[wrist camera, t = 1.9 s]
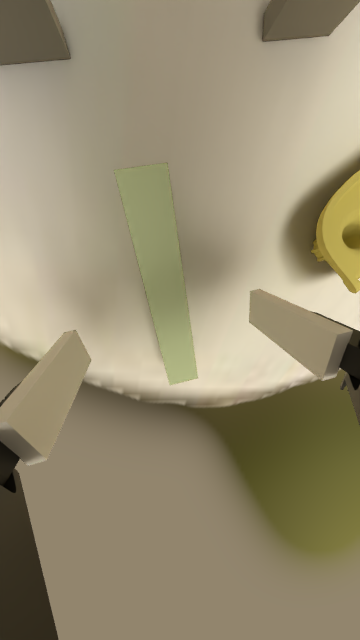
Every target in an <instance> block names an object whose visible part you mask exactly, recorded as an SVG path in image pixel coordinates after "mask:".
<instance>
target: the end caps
mask: <svg viewBox="0 0 360 640" xmlns="http://www.w3.org/2000/svg"><path fill="white" fill-rule="evenodd" d="M359 2H360V0H271V1H270V3H269V5H268V7H267V9H266V11H265V13H264V25H263V41H272V40H283V39H295V38H306V37H317V36H328V35H330V34H331V33H332V32H333V31H334V29H335V28H336V27H337V26H338V25H339V24H340V23H341V22H342V21H343V20H344V18H345V17H346V16H347V15H348V14H349V13H350V12H351V11H352V10H353V9H354V7H355V6H356V5H357V4H358V3H359ZM60 59H71V58H70V55H69V52H68V48H67V45H66V41H65V38H64V34H63V31H62V28H61V25H60V23H59V20H58V18H57V16H56V13H55V11H54V8H53V6H52V3H51V1H50V0H0V65H4V64H15V63H26V62H37V61H48V60H60Z"/></svg>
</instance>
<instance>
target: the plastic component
mask: <svg viewBox="0 0 360 640" xmlns="http://www.w3.org/2000/svg"><path fill="white" fill-rule="evenodd" d="M313 244H314V248H313V250H311V253H314V254H315V256H316V257H317V258H318V259H317V261H318V262H320V261H323V260H324V261H325V260H326V261H327V263H329V265H330V266H331V267H332V268H333V269H334V270H335V272H336V273H337V274H338V275H339V276H340V277H341V279H342V280H343V283H344V284H345V286H346V287H347V288H348V290H349V291H350V292H352V293H357V292H358V291H359V290H360V281H359V280H358V279H359V278H360V170H359V171H358V172H356V173H355V174H354V175H353V176H352V177H350V178H349V179H348V180H347V181H346V182H345V183H344V184H343V185H342V186H341V187H340V188H339V189H338V190H337V191H336V192H335V194H334V195H333V196H332V197H331V199H330V200H329V201H328V203H327V204H326V206H325V207H324V209H323V211H322V213H321V215H320V217H319V219H318V223H317V228H316V240H314V242H313Z"/></svg>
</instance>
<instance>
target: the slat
mask: <svg viewBox="0 0 360 640" xmlns="http://www.w3.org/2000/svg"><path fill="white" fill-rule="evenodd" d="M114 172H115V176H116V180H117V184H118V188H119V192H120V195H121V199H122V203H123V207H124V211H125V215H126V218H127V222H128V226H129V230H130V234H131V238H132V242H133V245H134V249H135V253H136V257H137V261H138V265H139V269H140V272H141V276H142V280H143V284H144V288H145V292H146V296H147V299H148V303H149V307H150V311H151V315H152V319H153V322H154V326H155V330H156V334H157V338H158V342H159V346H160V349H161V353H162V357H163V361H164V365H165V369H166V373H167V376H168V380H169V384H170V385H173V384H177V383H181V382H185V381H189V380H193V379H197V378H198V375H197V368H196V361H195V354H194V347H193V339H192V332H191V325H190V318H189V311H188V304H187V297H186V290H185V283H184V276H183V269H182V262H181V255H180V248H179V241H178V234H177V227H176V220H175V213H174V206H173V199H172V192H171V185H170V178H169V170H168V163H161V164H154V165H147V166H140V167H132V168H125V169H118V170H114Z"/></svg>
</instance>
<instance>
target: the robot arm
mask: <svg viewBox="0 0 360 640" xmlns="http://www.w3.org/2000/svg"><path fill="white" fill-rule="evenodd" d="M249 322H250V323H251V324H252V325H254V326H255V327H256V328H257V329H258V330H260V331H261V332H262V333H263V334H265V335H266V336H267V337H268V338H270V339H271V340H272V341H273V342H275V343H276V344H277V345H278V346H280V347H281V348H282V349H283V350H285V351H286V352H287V353H288V354H290V355H291V356H292V357H293V358H295V359H296V360H297V361H298V362H299V363H301V364H302V365H303V366H304V367H306V368H307V369H308V370H309V371H311V372H312V373H313V374H314V375H316V376H317V377H318V378H319V379H321V380H322V381H323V380H327V379H330V378H334V377H336V375H337V372H338V370H339V367H340V368H341V369H343V370H344V371H346V374H345V376H344V379H343V381H342V384H341V386H340V389H341V390H343V389H344V387H345V386H346V385H347V387H348V391H349V394H350V397H351V400H352V403H353V406H354V409H355V412H356V415H357V418H358V422H359V425H360V331H358V330H355V329H353V328H351V327H348V326H346V325H344V324H342V323H339V322H337V321H334V320H332V319H330V318H326V317H325V316H323V315H321V314H319V313H315V312H311V311H308V310H306V309H304V308H301V307H299V306H297V305H295V304H292V303H290V302H288V301H286V300H283V299H281V298H279V297H277V296H274V295H272V294H270V293H267V292H265V291H263V290H261V289H257V290H253V291H250V313H249ZM90 362H91V358H90V356H89V354H88V353H87V351H86V349H85V347H84V345H83V343H82V341H81V339H80V337H79V335H78V333H77V332H76V330H73V331H69V332H64V333H63V335H62V336H61V337H60V338H59V339H58V340H57V342H56V343H55V344H54V345H53V346H52V347H51V349H50V350H49V351H48V352H47V353H46V354H45V356H44V357H43V358H42V359H41V360H40V361H39V363H38V364H37V365H36V366H35V367H34V368H33V370H32V371H31V372H30V373H29V374H28V375H27V377H26V378H25V379H24V380H23V381H22V382H20V383H19V384H18V385H17V386H15V387H14V388H13V389H12V390H11V391H10V393H8V395H7V396H6V397H5V399H4V400H2V401H1V402H0V640H58V635H57V631H56V627H55V623H54V619H53V615H52V610H51V606H50V602H49V598H48V594H47V589H46V585H45V581H44V577H43V573H42V568H41V564H40V560H39V555H38V551H37V547H36V543H35V539H34V534H33V530H32V526H31V522H30V518H29V513H28V509H27V505H26V501H25V497H24V492H23V488H22V484H21V480H20V476H19V473H18V471H17V470H16V469H14V468H15V466H16V464H17V463H18V461H19V459H21V460H22V461H23V462H25V463H26V464H27V465H32V464H36V463H39V462H42V461H46V460H48V457H49V455H50V453H51V450H52V448H53V446H54V444H55V441H56V439H57V437H58V435H59V432H60V430H61V428H62V426H63V423H64V421H65V419H66V416H67V414H68V412H69V410H70V407H71V405H72V403H73V401H74V398H75V396H76V394H77V391H78V389H79V387H80V384H81V382H82V380H83V378H84V376H85V373H86V371H87V369H88V367H89V364H90Z"/></svg>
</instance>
